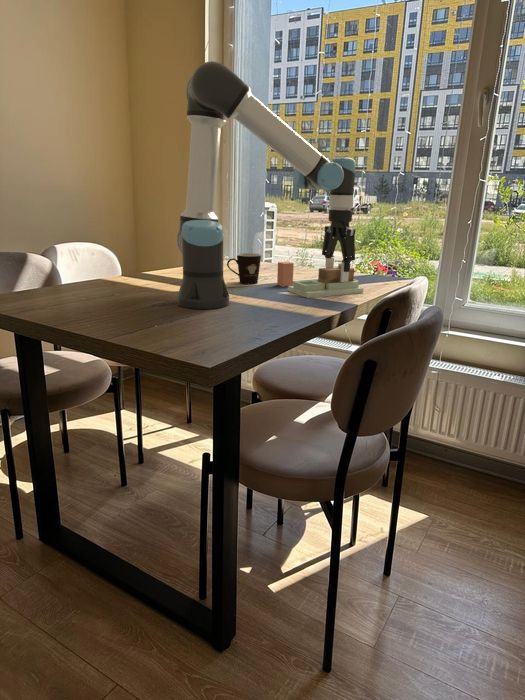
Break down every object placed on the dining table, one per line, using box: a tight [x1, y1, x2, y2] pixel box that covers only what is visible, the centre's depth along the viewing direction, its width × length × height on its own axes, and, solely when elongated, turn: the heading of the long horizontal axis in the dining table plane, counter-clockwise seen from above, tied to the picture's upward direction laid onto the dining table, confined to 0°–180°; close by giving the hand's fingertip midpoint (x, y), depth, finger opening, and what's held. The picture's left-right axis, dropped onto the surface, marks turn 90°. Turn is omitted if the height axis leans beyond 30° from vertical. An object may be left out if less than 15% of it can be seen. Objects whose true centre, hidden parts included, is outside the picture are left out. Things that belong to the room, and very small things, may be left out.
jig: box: [287, 278, 364, 299], centre depth 172 cm, size 22×12×4 cm, turn 118°
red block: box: [276, 261, 295, 288], centre depth 180 cm, size 4×4×8 cm
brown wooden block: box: [317, 262, 355, 289], centre depth 172 cm, size 11×4×8 cm, turn 114°
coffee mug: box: [226, 252, 262, 285], centre depth 183 cm, size 12×9×10 cm
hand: (336, 279), depth 173 cm, fingers open, 8 cm apart
